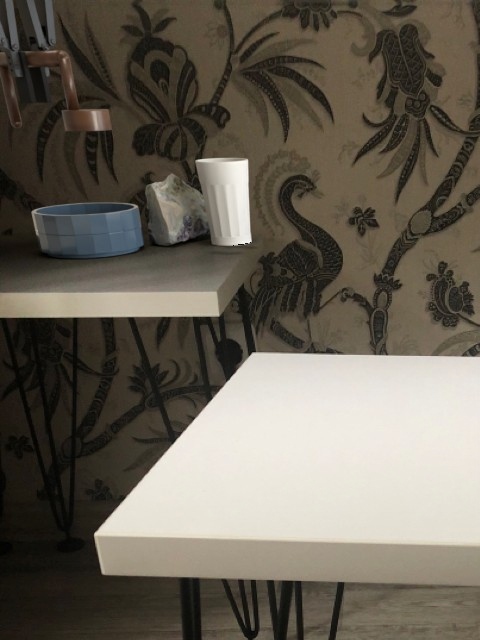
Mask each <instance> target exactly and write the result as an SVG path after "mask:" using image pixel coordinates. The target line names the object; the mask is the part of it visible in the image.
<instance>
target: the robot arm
mask: <svg viewBox="0 0 480 640" xmlns="http://www.w3.org/2000/svg"><path fill="white" fill-rule="evenodd" d="M15 3H16V5H17V9H18V11H19V16H20V20H21V24H22V27H23V30H24V33H25V37H26V41H27V44H28V48H29V49H30V51H51V50H50V49H51V48H52V47H55V46H56V44H57V37H56V27H55V18H54V17H55V16H54V6H53V0H15ZM15 13H16V12H15V6H14V0H0V51H1V52H5V55H6V59H7V64H8V68H9V73H10V75H11V77H12V78H14V79H15V84H16V89H17V94H18V98H19V103H20V104H37V103H38V104H44V103H45V104H48V103H50V104H51V103H53V101H52V96H51V92H50V91H51V90H50V87H49V82H48V77H50V75H51V73H50V67H28V62H27V58H26V53H25V51H19V50H20V41H19V36H18V28H17V21H16V14H15Z"/></svg>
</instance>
